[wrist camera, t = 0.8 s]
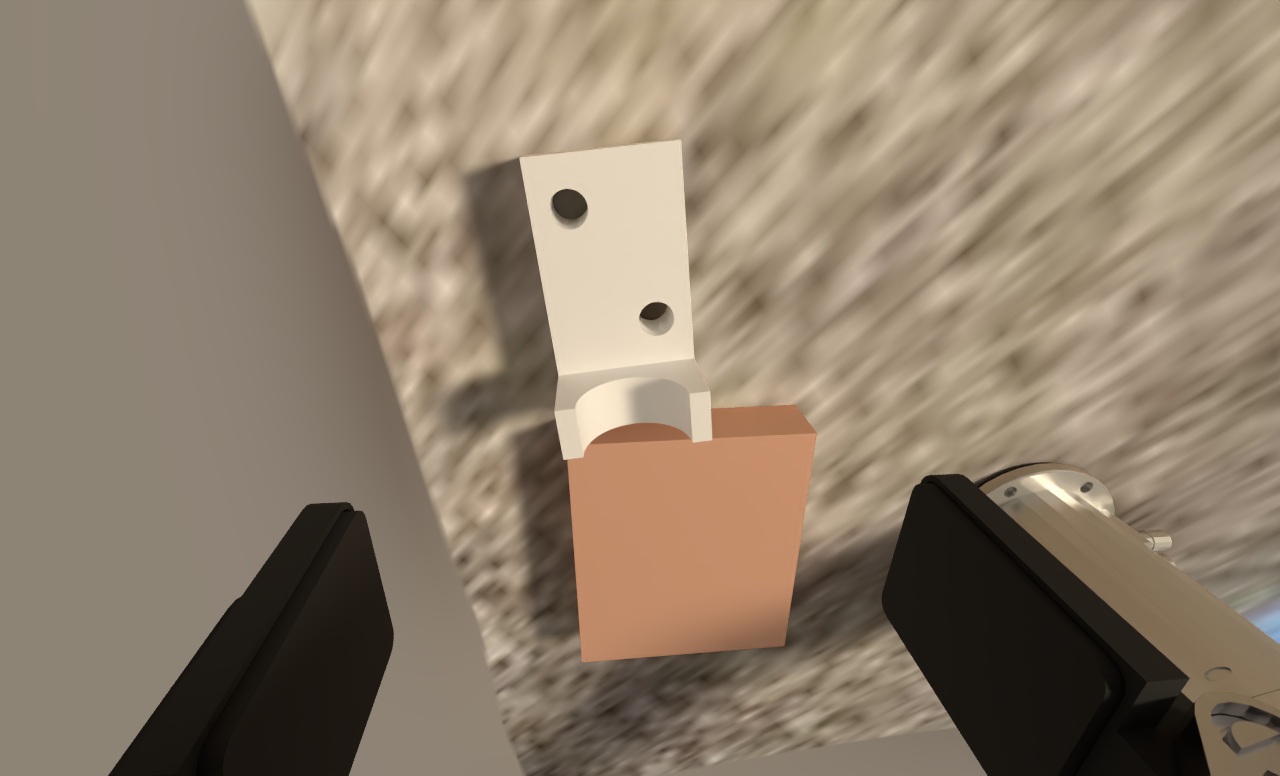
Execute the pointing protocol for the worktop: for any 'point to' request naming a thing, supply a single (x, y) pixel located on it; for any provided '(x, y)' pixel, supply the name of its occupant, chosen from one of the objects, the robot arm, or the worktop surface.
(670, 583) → the riser block
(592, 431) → the bracket
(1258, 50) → the worktop surface
